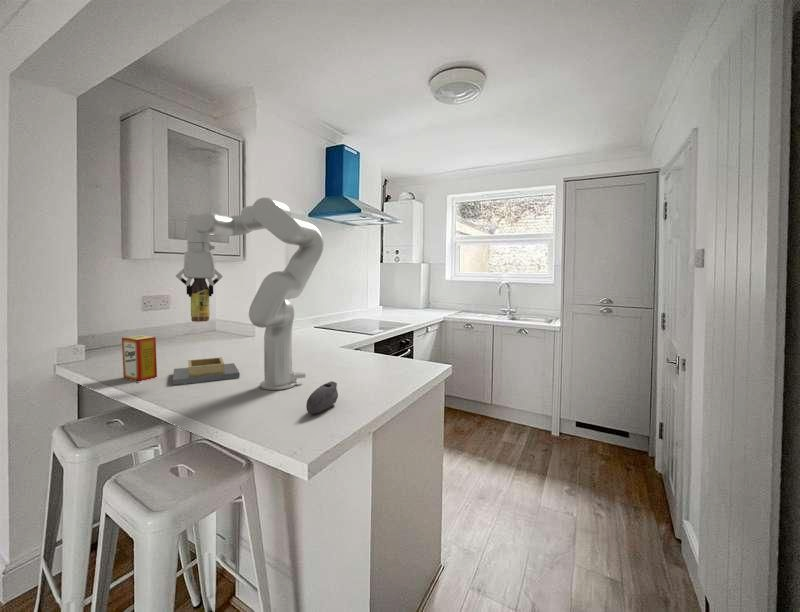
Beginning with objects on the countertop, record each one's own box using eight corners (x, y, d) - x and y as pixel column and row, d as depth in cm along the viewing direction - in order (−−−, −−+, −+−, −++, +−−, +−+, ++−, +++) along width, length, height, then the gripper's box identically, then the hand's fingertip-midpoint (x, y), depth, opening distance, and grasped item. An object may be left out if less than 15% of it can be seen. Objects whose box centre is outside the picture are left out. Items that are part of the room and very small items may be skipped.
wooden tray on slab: (234, 367, 160) (233, 355, 160) (239, 377, 145) (239, 363, 144) (174, 373, 149) (173, 360, 149) (173, 385, 134) (172, 370, 133)
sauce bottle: (202, 322, 138) (200, 268, 136) (187, 322, 139) (184, 268, 138) (213, 320, 145) (212, 268, 143) (199, 319, 146) (197, 268, 144)
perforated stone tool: (314, 419, 104) (314, 395, 103) (299, 416, 106) (298, 392, 105) (342, 403, 118) (342, 381, 117) (328, 400, 120) (328, 379, 119)
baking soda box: (157, 377, 144) (155, 336, 143) (139, 381, 138) (137, 338, 137) (141, 374, 148) (139, 334, 147) (123, 378, 142) (121, 336, 141)
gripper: (223, 249, 147) (224, 295, 149) (171, 247, 138) (173, 296, 140) (225, 248, 141) (226, 296, 142) (172, 246, 132) (173, 297, 133)
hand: (200, 295), depth 141 cm, fingers closed on sauce bottle, 6 cm apart
